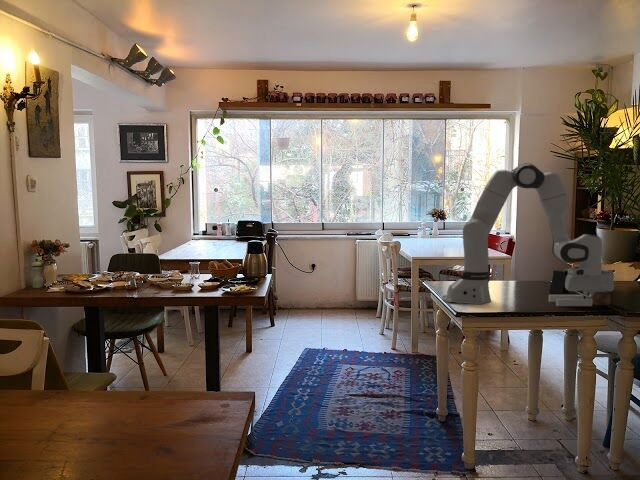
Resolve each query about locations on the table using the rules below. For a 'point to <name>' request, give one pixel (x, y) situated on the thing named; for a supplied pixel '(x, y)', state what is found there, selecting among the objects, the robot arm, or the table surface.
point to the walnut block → (601, 298)
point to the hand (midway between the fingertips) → (588, 300)
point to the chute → (570, 300)
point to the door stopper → (559, 282)
